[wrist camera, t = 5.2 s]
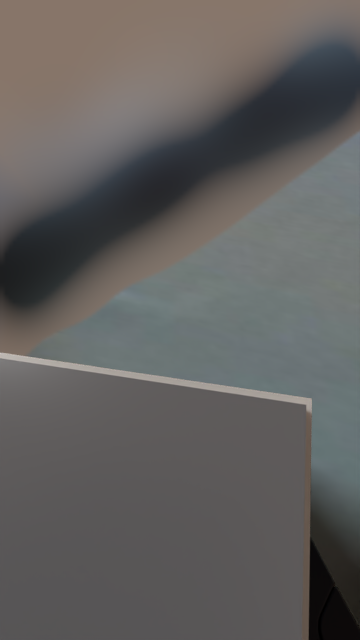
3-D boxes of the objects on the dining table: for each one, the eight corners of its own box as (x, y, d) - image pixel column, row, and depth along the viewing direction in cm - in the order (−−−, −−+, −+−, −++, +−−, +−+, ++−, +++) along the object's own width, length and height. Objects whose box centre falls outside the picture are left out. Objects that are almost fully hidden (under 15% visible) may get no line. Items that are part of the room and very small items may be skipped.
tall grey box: (233, 541, 13) (309, 1460, 1) (133, 516, 14) (-355, 932, 2) (242, 430, 15) (316, 395, 3) (153, 415, 16) (-67, 339, 4)
